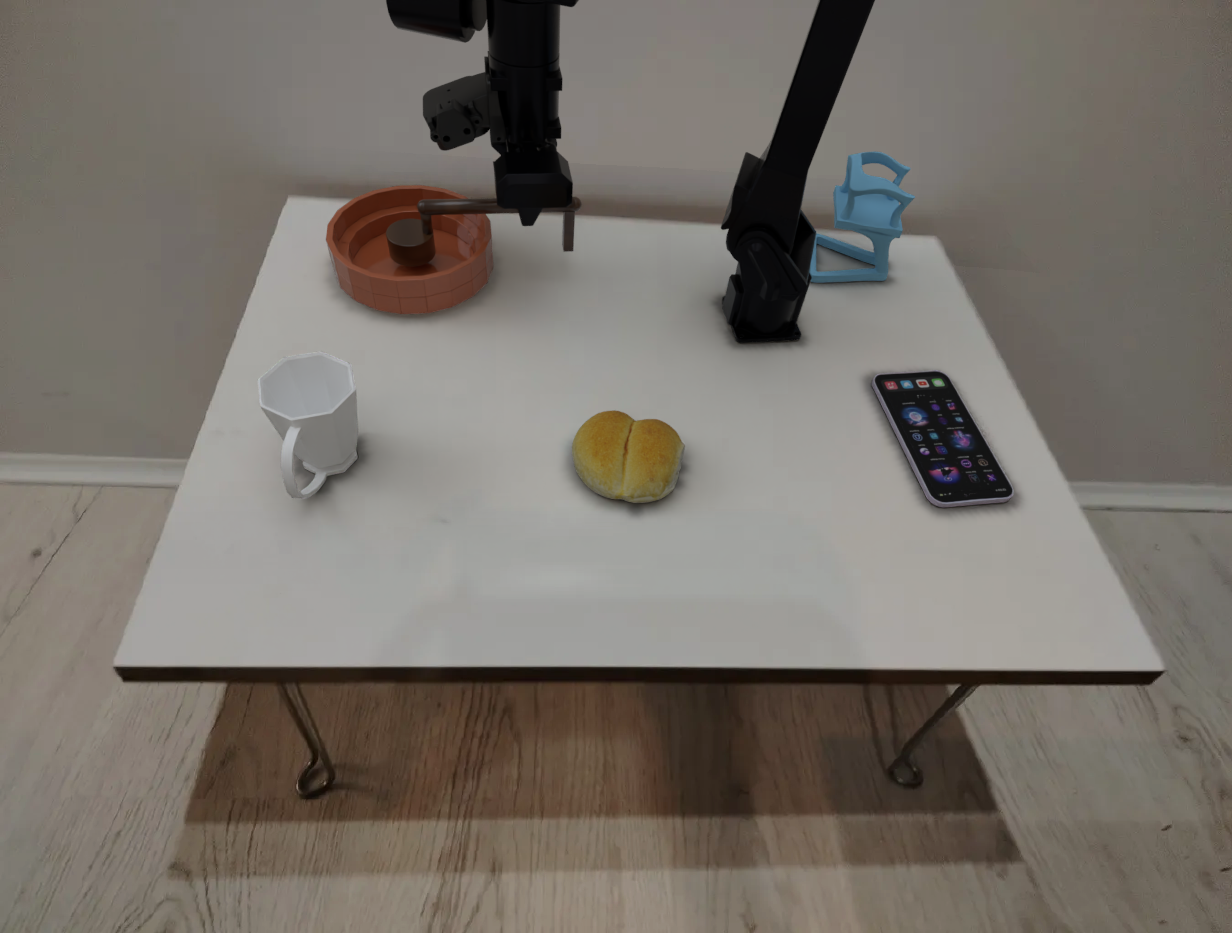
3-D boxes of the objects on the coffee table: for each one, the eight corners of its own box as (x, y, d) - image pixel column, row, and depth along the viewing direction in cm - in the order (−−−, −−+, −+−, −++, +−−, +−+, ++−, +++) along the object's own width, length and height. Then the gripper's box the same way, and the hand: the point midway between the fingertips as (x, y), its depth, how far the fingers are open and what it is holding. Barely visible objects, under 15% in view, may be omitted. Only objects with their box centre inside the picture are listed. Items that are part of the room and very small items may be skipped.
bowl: (488, 222, 83) (486, 183, 80) (497, 315, 74) (496, 277, 70) (340, 225, 81) (331, 186, 77) (331, 322, 71) (320, 283, 68)
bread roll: (585, 417, 67) (588, 384, 63) (687, 442, 66) (695, 410, 63) (557, 491, 61) (558, 458, 58) (667, 519, 61) (674, 488, 57)
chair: (887, 295, 81) (933, 191, 71) (808, 282, 81) (843, 176, 72) (883, 251, 86) (925, 148, 76) (808, 239, 86) (841, 135, 77)
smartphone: (945, 369, 73) (1019, 497, 64) (942, 373, 73) (1015, 501, 64) (869, 373, 72) (934, 504, 63) (867, 378, 72) (931, 509, 63)
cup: (385, 426, 64) (368, 354, 58) (351, 526, 58) (329, 458, 52) (299, 418, 64) (274, 345, 58) (256, 517, 58) (222, 447, 51)
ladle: (576, 234, 80) (579, 184, 75) (582, 261, 77) (585, 211, 73) (390, 239, 77) (380, 188, 72) (389, 267, 74) (379, 215, 70)
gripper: (421, 2, 67) (439, 169, 79) (422, 109, 56) (443, 284, 68) (550, 4, 69) (548, 167, 81) (576, 108, 58) (570, 279, 70)
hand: (526, 220), depth 75 cm, fingers closed on ladle
